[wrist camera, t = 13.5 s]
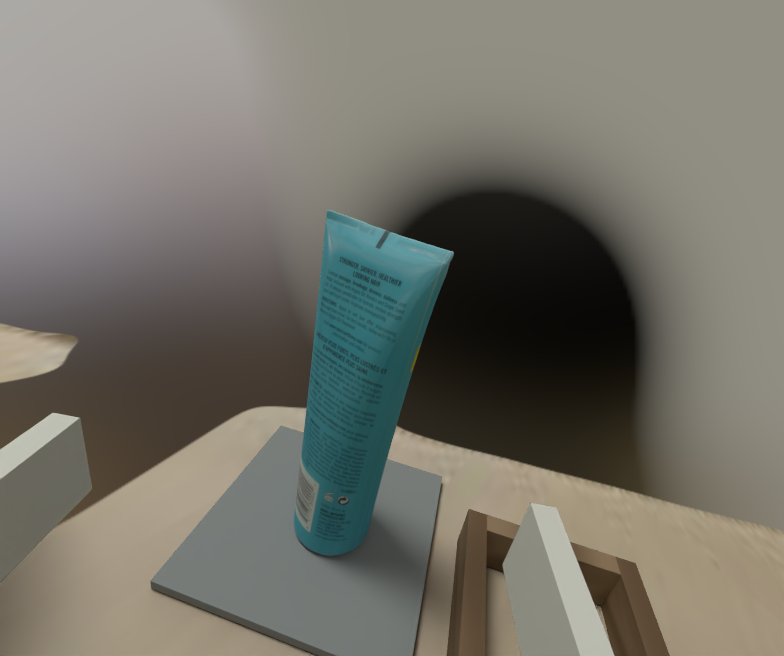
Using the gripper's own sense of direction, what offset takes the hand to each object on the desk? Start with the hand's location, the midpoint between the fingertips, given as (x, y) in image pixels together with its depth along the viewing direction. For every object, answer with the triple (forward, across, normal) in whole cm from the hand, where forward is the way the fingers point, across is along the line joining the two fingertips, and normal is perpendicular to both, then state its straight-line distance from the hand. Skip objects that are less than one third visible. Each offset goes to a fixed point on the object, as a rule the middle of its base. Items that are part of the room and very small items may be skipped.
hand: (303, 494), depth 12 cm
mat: (+10, 0, -14) cm, 17 cm away
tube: (+10, 0, -13) cm, 16 cm away
